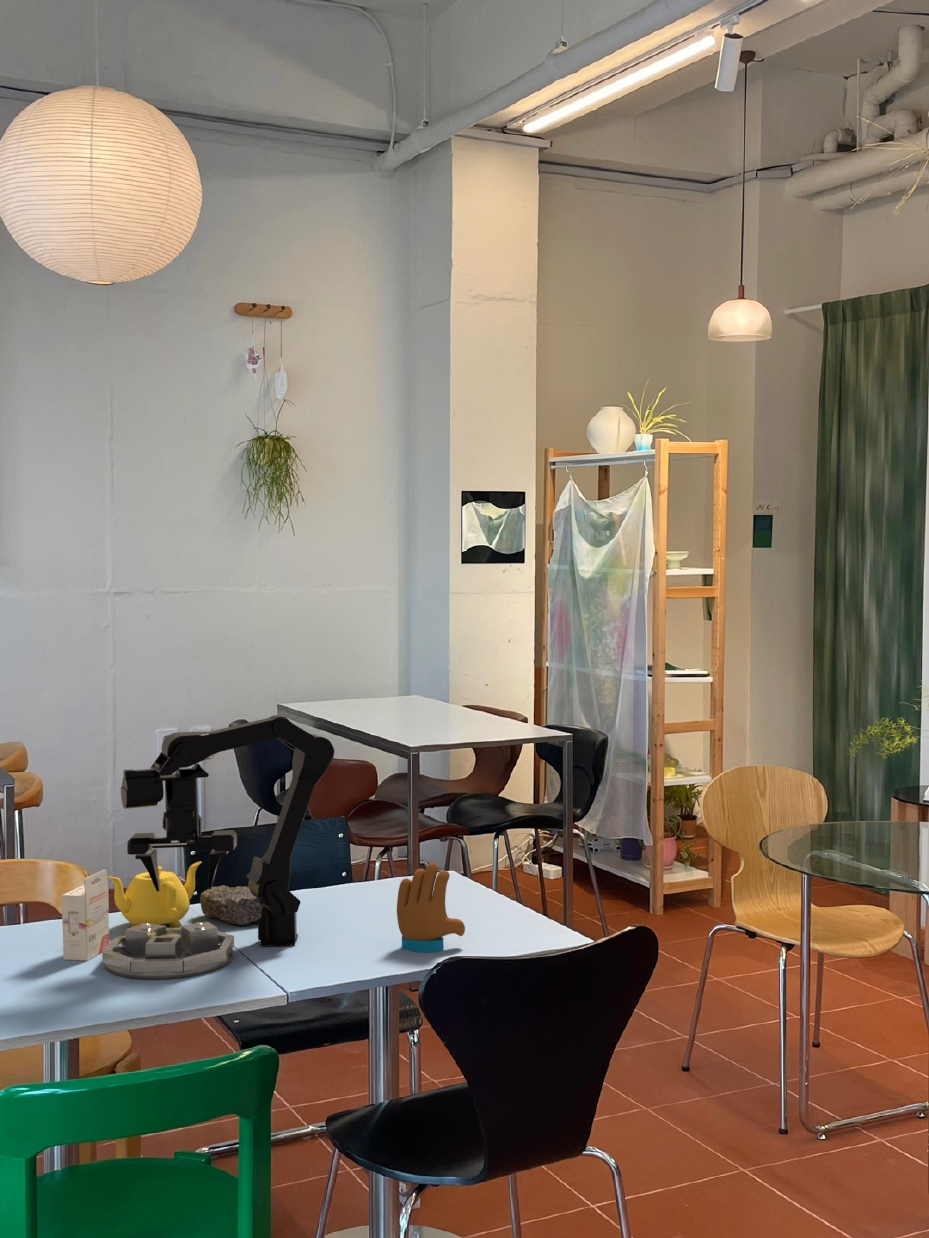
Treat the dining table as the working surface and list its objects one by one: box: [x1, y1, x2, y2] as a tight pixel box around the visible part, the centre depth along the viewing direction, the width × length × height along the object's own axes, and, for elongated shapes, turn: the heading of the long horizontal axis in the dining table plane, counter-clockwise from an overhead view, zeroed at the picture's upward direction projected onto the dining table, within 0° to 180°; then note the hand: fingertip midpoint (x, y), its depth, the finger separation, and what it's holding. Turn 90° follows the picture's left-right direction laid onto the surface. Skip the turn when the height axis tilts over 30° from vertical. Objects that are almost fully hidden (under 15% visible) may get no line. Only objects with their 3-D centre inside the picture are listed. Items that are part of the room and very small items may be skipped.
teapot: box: [107, 861, 202, 928], centre depth 245 cm, size 20×15×12 cm
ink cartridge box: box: [60, 869, 110, 962], centre depth 226 cm, size 9×5×15 cm, turn 168°
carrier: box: [101, 921, 235, 981], centre depth 222 cm, size 22×22×6 cm
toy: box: [396, 862, 466, 953], centre depth 229 cm, size 12×7×15 cm, turn 70°
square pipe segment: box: [145, 936, 181, 959], centre depth 216 cm, size 5×5×4 cm
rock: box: [199, 885, 264, 926], centre depth 251 cm, size 13×6×15 cm
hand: (184, 889), depth 226 cm, fingers open, 9 cm apart
